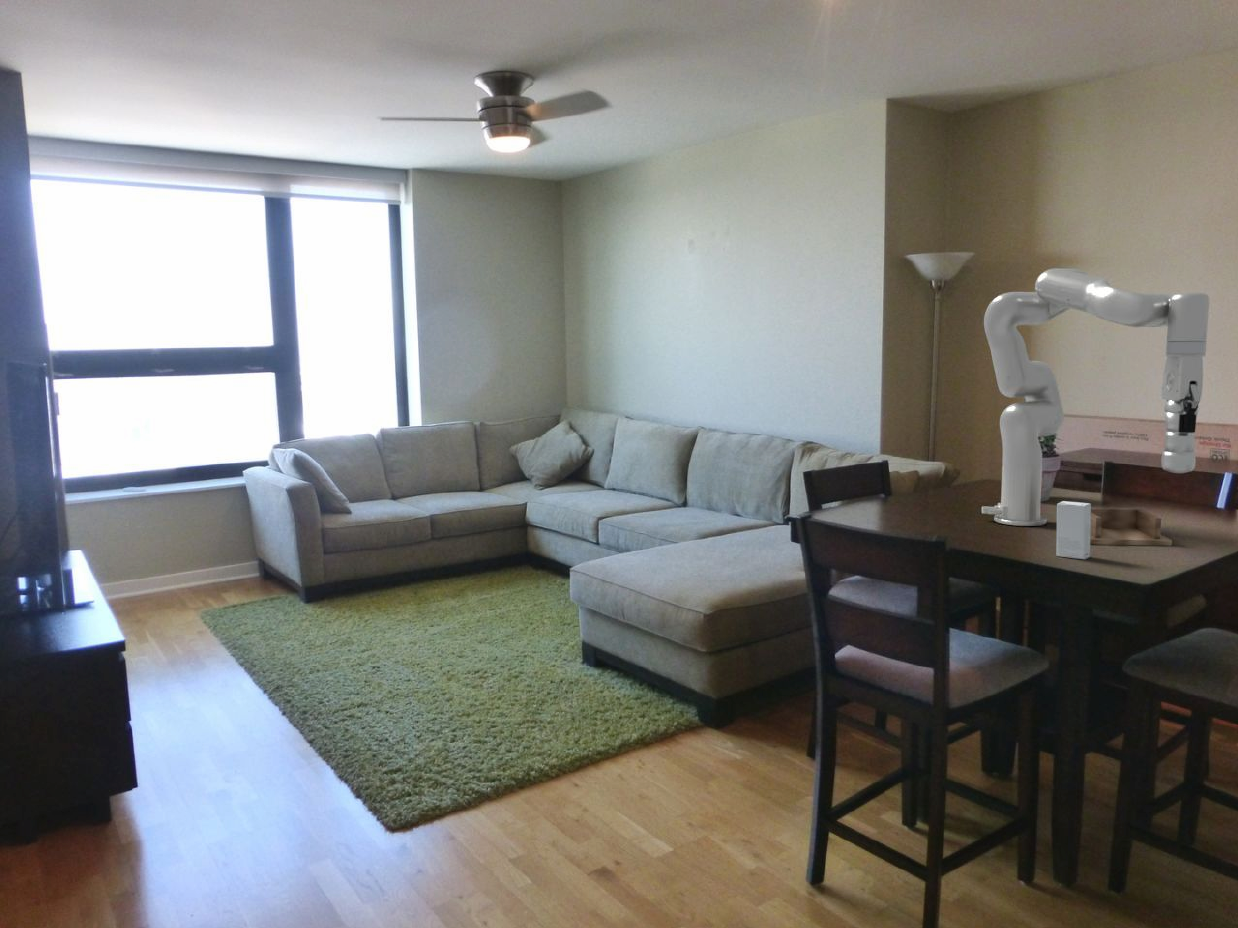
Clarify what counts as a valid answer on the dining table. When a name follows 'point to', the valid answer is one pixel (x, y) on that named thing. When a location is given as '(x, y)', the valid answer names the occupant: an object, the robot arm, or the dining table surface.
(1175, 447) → the silver bottle
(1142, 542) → the brown tray
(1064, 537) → the skincare box
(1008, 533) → the dining table surface
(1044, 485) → the potted plant
